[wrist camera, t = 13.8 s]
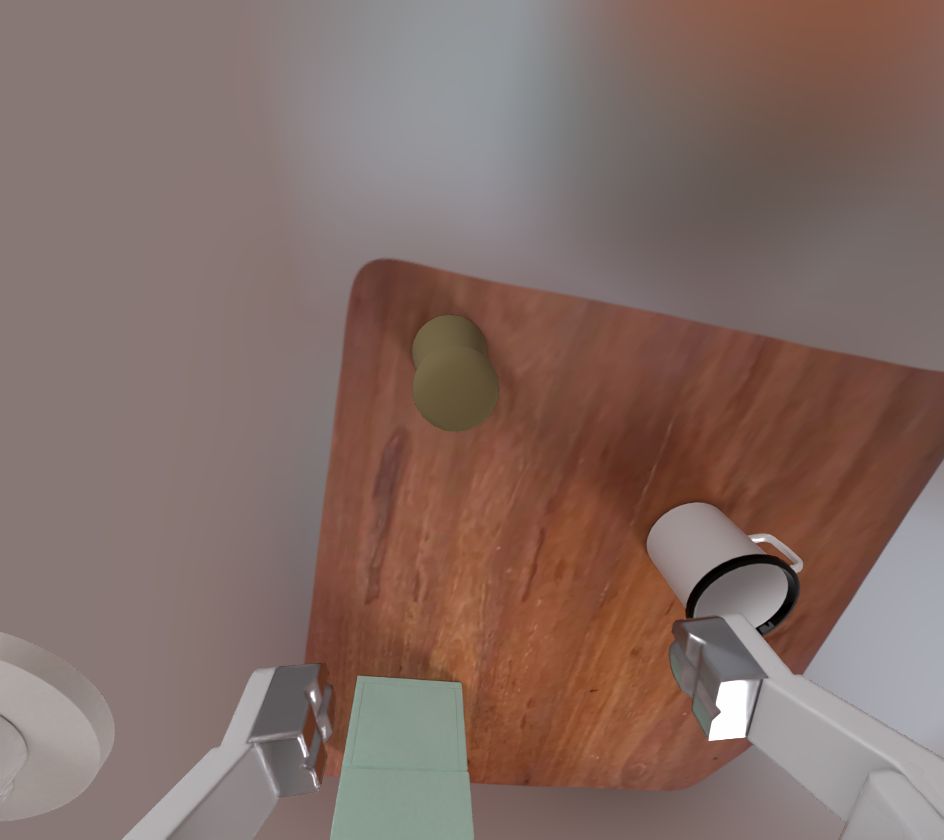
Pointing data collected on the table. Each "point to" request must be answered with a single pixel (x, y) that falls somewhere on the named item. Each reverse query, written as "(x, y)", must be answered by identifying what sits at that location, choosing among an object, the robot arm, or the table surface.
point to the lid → (403, 805)
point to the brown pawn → (453, 374)
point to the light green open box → (406, 725)
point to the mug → (723, 567)
